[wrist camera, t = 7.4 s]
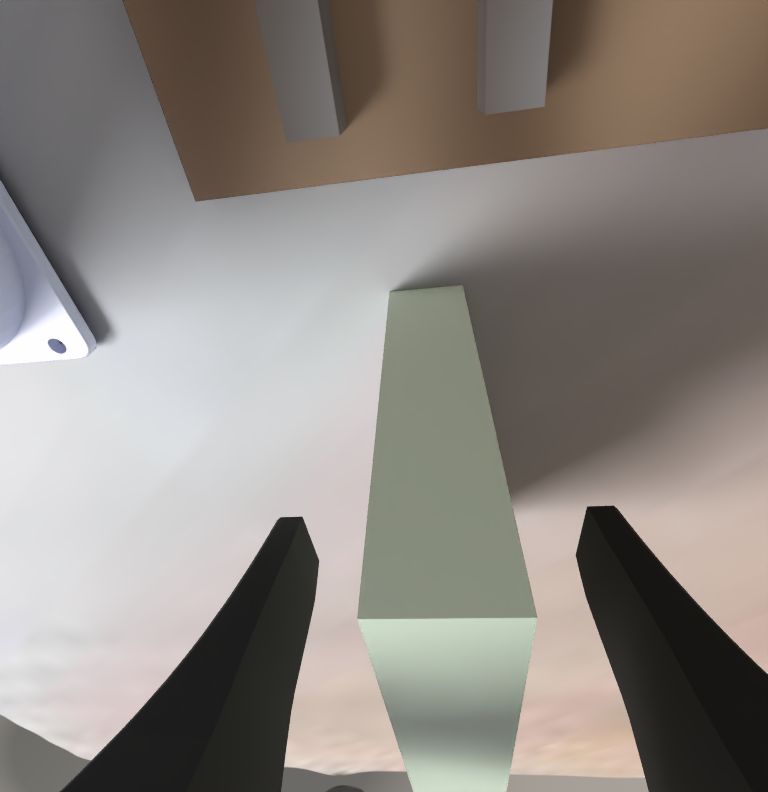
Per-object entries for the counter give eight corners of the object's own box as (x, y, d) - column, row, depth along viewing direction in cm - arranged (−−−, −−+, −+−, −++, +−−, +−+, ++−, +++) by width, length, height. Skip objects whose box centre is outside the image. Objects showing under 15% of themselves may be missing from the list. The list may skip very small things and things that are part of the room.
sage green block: (417, 516, 18) (420, 813, 11) (389, 291, 12) (357, 618, 5) (466, 515, 18) (501, 816, 11) (462, 284, 12) (536, 617, 5)
